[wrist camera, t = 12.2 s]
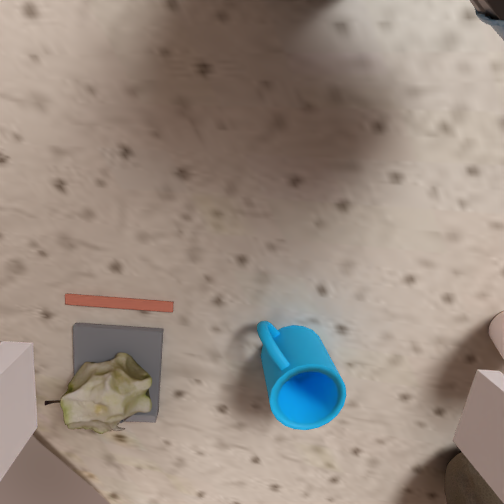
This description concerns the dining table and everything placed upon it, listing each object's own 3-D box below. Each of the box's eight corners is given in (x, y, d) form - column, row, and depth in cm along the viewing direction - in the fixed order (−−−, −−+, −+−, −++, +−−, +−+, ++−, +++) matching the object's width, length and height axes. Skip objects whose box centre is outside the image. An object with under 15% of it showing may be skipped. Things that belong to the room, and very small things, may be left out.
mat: (75, 322, 39) (69, 330, 38) (163, 328, 40) (160, 336, 39) (77, 408, 42) (71, 419, 41) (158, 411, 44) (155, 422, 42)
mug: (335, 357, 44) (360, 401, 36) (284, 392, 44) (297, 442, 37) (283, 290, 40) (298, 322, 33) (229, 328, 41) (231, 369, 33)
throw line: (66, 293, 38) (65, 294, 38) (173, 301, 40) (173, 302, 39) (66, 303, 38) (65, 304, 38) (173, 311, 40) (172, 312, 40)
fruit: (70, 389, 41) (25, 419, 33) (119, 330, 42) (86, 345, 34) (127, 437, 41) (96, 480, 33) (176, 378, 41) (156, 405, 33)
